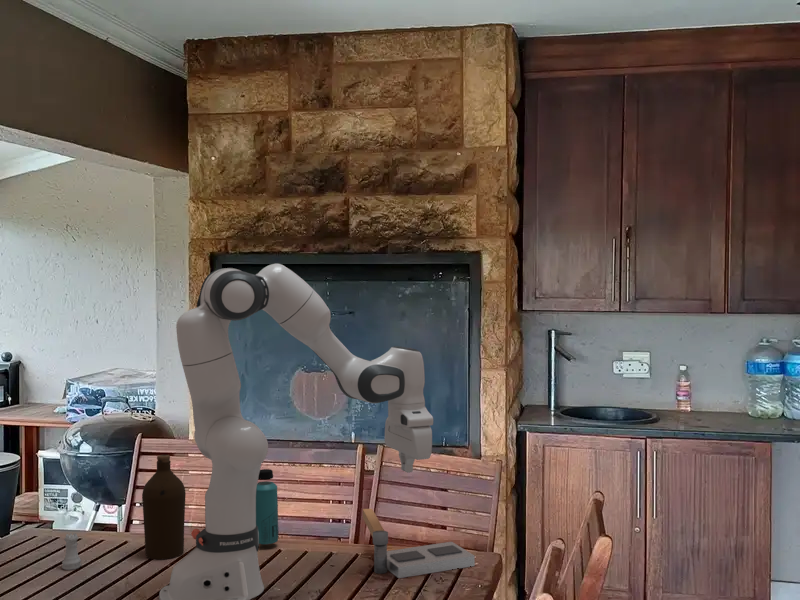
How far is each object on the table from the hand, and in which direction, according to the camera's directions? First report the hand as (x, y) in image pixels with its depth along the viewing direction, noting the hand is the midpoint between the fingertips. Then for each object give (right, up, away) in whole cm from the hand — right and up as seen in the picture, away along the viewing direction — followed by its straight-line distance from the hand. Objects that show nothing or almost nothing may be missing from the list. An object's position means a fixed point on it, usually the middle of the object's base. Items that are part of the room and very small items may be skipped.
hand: (407, 471), depth 197 cm
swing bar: (-8, -16, +7) cm, 19 cm away
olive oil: (-62, -24, +12) cm, 67 cm away
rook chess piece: (-81, -24, +2) cm, 85 cm away
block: (+3, -23, +2) cm, 23 cm away
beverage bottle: (-37, -23, +17) cm, 47 cm away
